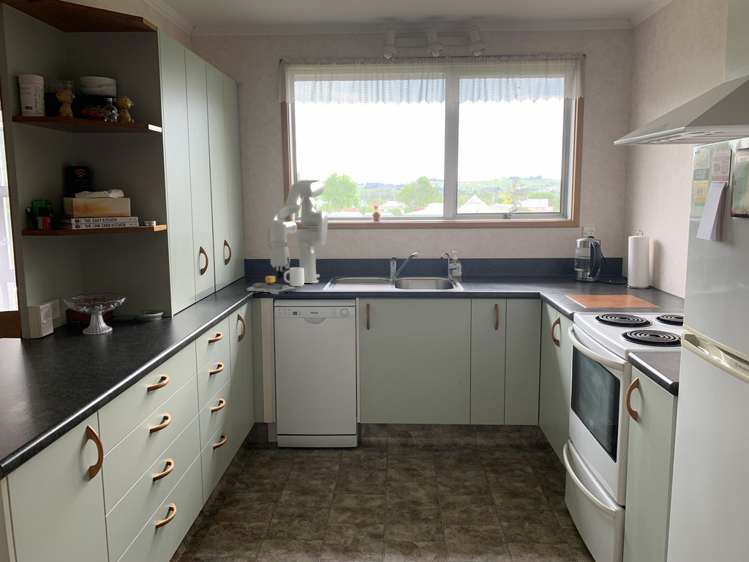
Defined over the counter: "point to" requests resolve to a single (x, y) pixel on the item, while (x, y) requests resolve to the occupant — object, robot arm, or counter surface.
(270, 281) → the orange block
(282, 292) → the grey bar
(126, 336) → the counter surface
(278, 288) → the slider switch board
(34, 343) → the counter surface
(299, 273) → the mug
